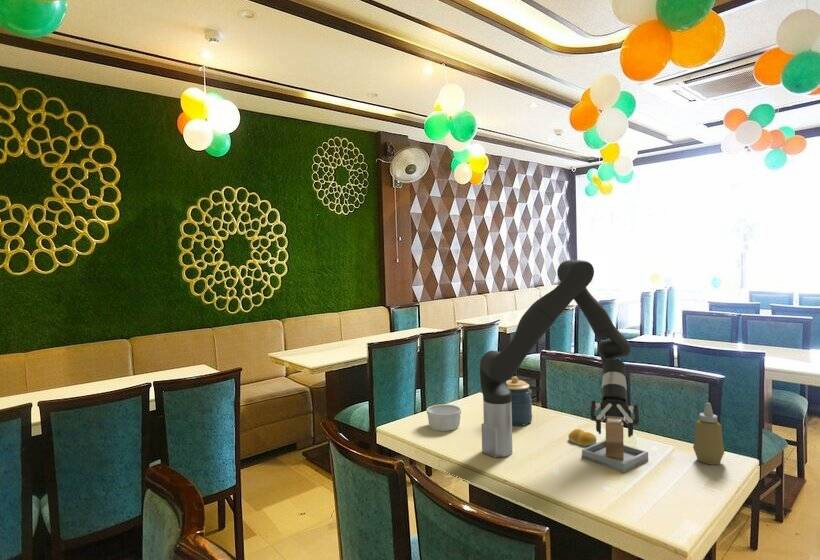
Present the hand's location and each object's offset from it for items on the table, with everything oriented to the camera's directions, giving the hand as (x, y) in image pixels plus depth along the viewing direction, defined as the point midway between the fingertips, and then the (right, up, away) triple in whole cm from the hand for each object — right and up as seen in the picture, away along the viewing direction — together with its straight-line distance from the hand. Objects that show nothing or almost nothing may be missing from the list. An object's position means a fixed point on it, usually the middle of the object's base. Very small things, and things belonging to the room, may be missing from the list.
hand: (614, 434), depth 146 cm
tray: (+1, -8, +1) cm, 8 cm away
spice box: (+1, -7, +1) cm, 7 cm away
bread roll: (-4, -8, +16) cm, 19 cm away
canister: (-22, -8, +39) cm, 46 cm away
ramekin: (-51, -9, +34) cm, 62 cm away
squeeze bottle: (+28, -8, -2) cm, 29 cm away
